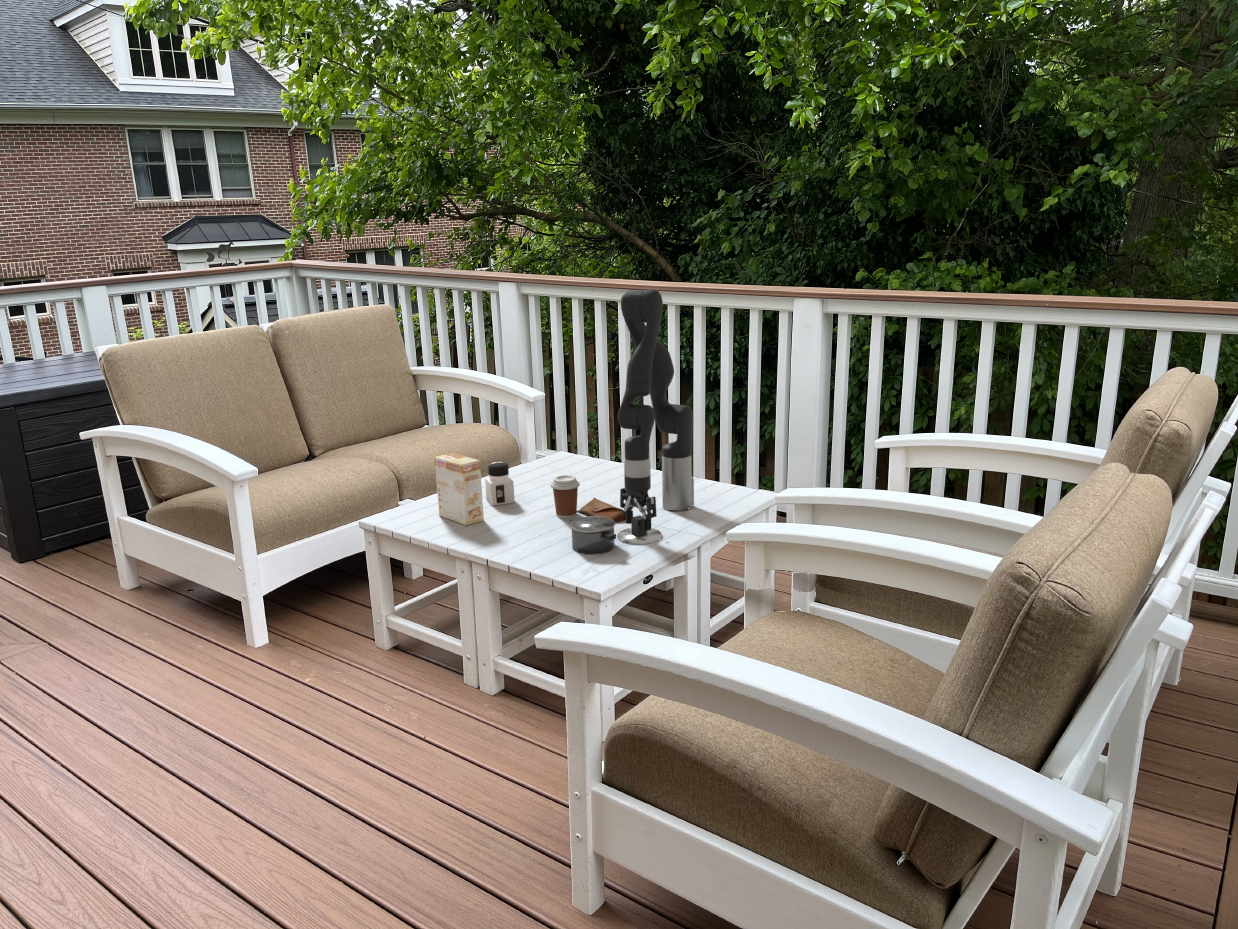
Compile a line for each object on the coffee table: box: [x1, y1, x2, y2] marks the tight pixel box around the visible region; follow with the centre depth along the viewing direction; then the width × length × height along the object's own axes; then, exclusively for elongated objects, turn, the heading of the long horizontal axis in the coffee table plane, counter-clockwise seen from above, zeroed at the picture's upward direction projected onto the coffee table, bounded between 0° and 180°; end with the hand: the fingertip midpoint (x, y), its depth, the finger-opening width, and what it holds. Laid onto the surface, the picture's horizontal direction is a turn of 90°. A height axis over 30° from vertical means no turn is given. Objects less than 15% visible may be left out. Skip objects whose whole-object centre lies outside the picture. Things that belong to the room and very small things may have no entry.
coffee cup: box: [550, 474, 581, 519], centre depth 296 cm, size 9×9×12 cm
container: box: [484, 461, 516, 507], centre depth 311 cm, size 8×8×13 cm
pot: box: [569, 516, 617, 555], centre depth 269 cm, size 13×19×7 cm, turn 36°
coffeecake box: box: [434, 452, 485, 526], centre depth 295 cm, size 15×7×20 cm, turn 44°
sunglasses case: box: [577, 496, 626, 524], centre depth 296 cm, size 18×7×7 cm
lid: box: [616, 514, 663, 546], centre depth 276 cm, size 13×13×6 cm
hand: (638, 526), depth 276 cm, fingers open, 8 cm apart
